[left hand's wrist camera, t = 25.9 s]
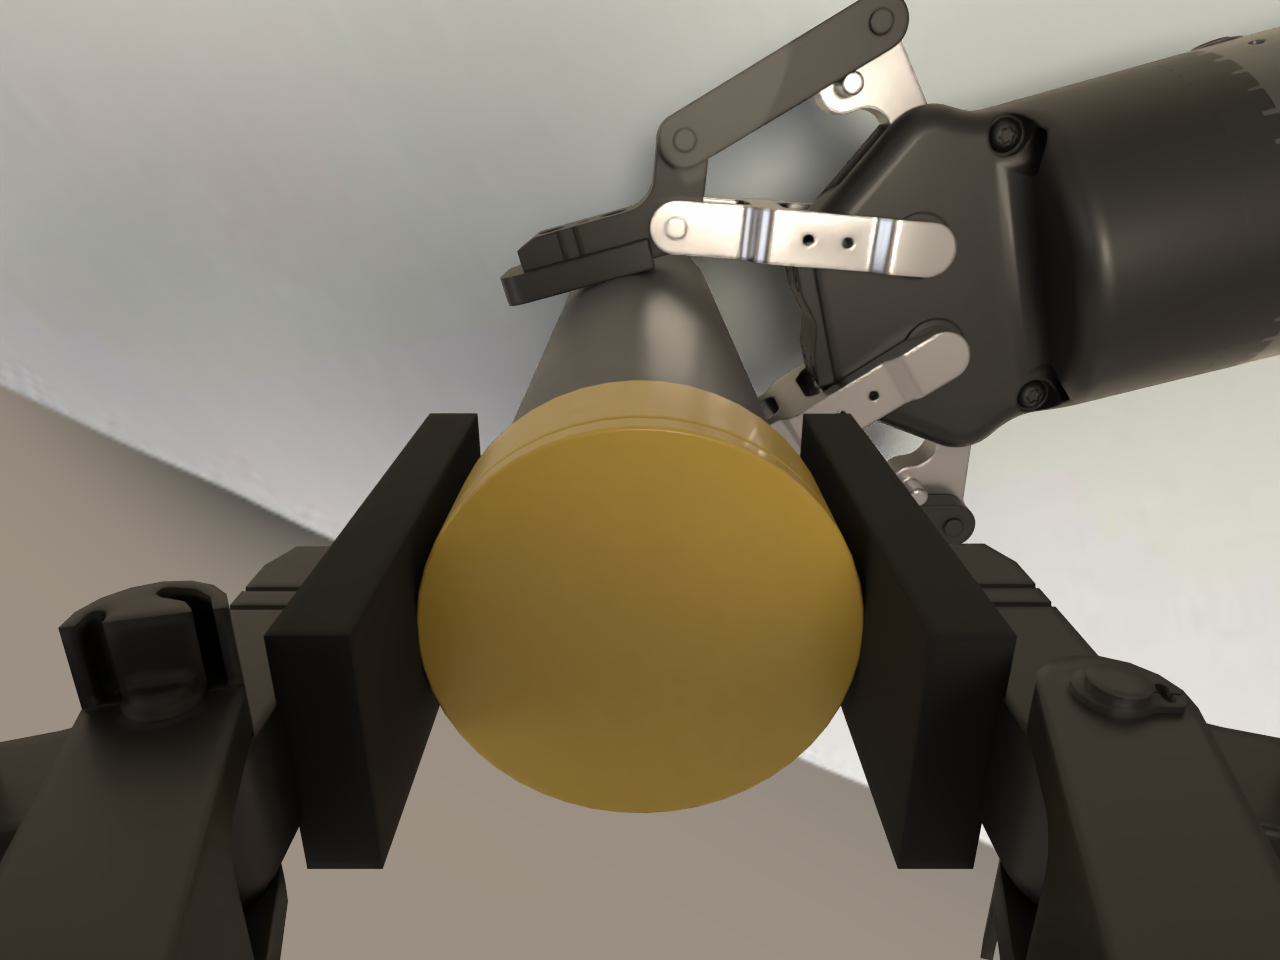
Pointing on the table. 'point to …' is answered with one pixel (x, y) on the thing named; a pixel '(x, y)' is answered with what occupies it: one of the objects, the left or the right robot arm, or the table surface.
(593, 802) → the lid
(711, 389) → the grey cylindrical bottle
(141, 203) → the table surface
